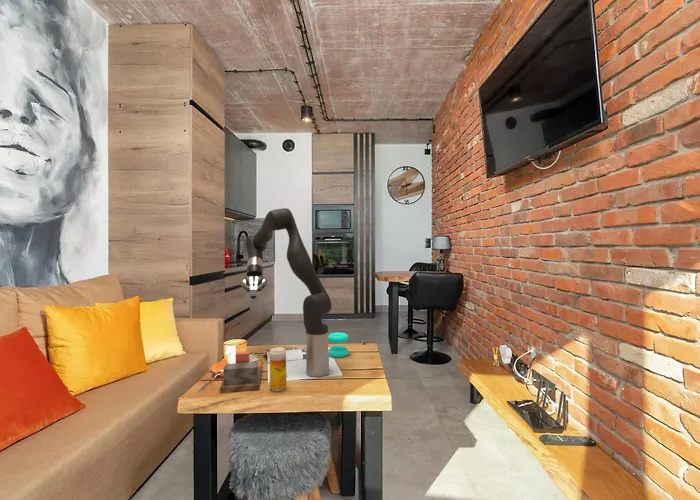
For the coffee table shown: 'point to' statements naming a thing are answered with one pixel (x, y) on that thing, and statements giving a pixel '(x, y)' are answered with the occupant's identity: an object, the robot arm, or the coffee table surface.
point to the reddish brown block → (242, 357)
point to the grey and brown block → (241, 377)
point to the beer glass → (277, 369)
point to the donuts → (338, 350)
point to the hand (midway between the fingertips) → (253, 297)
